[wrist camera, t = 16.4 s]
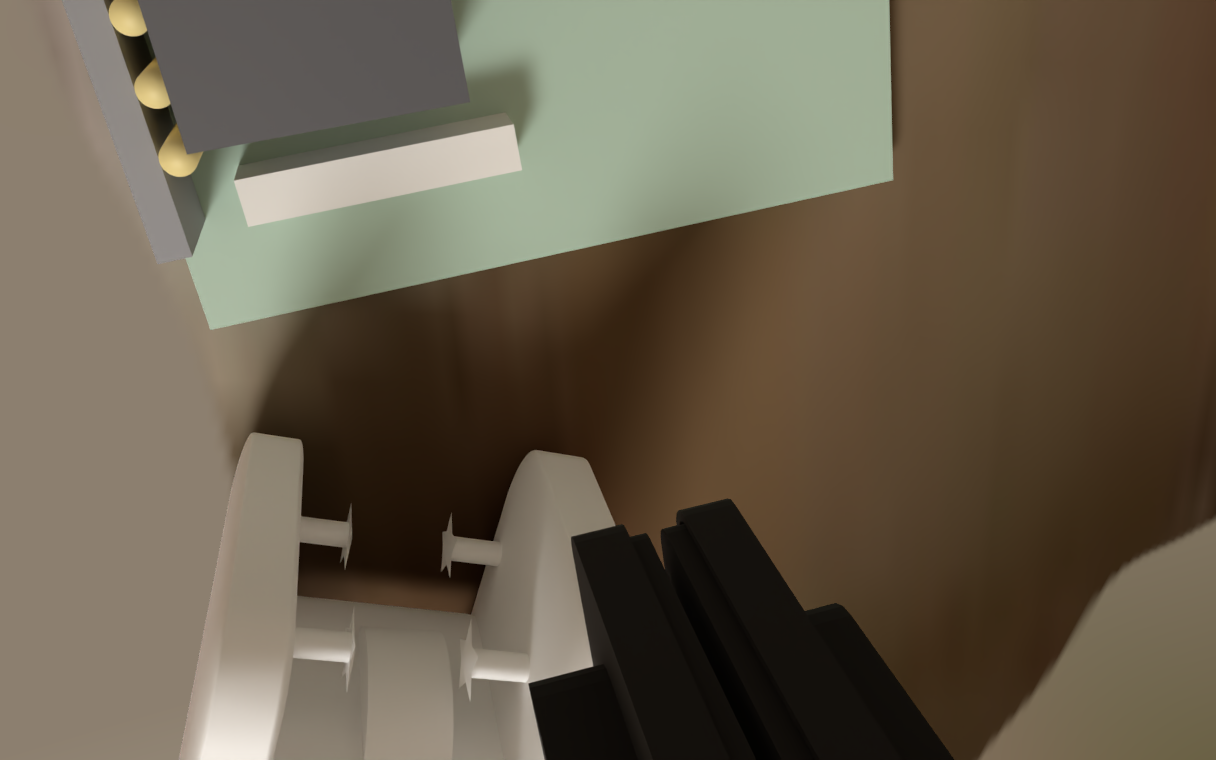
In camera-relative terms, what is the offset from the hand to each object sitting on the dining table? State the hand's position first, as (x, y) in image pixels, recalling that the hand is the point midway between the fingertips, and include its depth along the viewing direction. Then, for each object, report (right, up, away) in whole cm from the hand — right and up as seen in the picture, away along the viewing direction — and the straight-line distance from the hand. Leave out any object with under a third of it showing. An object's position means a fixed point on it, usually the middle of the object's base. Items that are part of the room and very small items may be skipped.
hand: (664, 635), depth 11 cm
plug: (-8, +12, +15) cm, 21 cm away
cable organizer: (-8, -5, +25) cm, 26 cm away
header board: (-3, +13, +17) cm, 22 cm away
